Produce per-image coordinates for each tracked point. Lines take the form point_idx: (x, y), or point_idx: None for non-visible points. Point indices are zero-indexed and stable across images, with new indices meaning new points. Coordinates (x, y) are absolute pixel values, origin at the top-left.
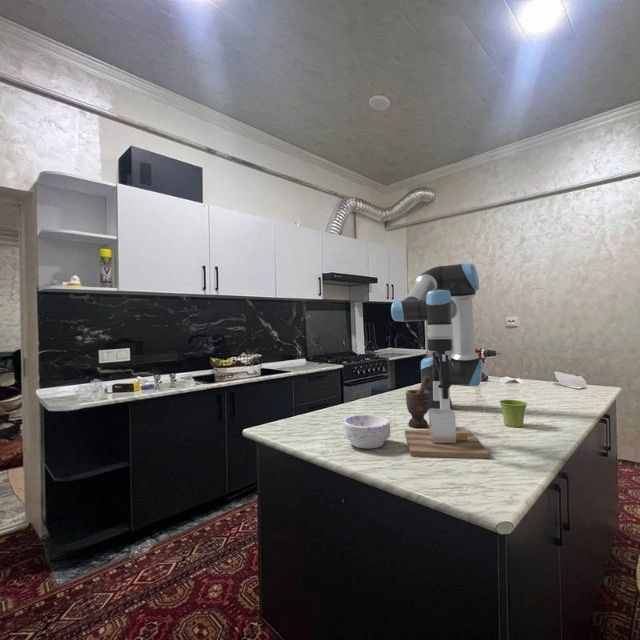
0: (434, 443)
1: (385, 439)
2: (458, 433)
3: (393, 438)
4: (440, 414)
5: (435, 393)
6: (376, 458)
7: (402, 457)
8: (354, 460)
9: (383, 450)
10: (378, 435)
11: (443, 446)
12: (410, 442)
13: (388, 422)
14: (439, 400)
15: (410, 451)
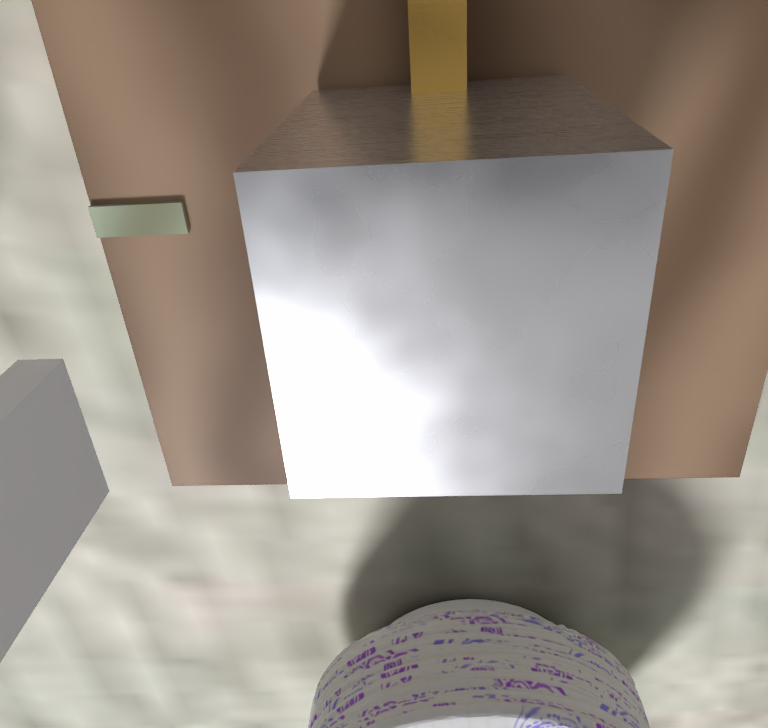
0: None
1: (583, 635)
2: (410, 23)
3: (316, 532)
4: (634, 383)
5: (23, 573)
6: (739, 619)
7: (739, 497)
8: (757, 701)
9: (590, 587)
10: (637, 707)
11: None
12: None
13: (518, 721)
14: (72, 406)
15: (737, 474)
